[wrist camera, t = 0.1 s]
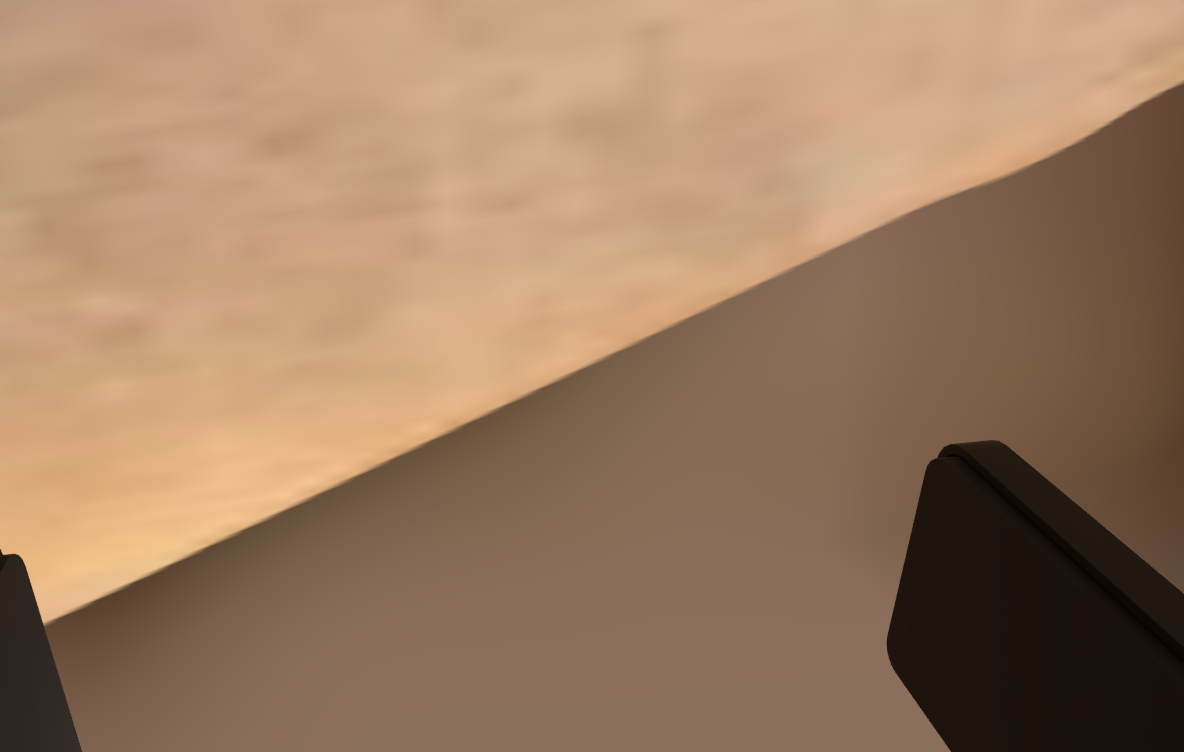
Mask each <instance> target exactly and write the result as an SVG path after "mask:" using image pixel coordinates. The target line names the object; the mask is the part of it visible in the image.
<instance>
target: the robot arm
mask: <svg viewBox="0 0 1184 752" xmlns="http://www.w3.org/2000/svg"><path fill="white" fill-rule="evenodd" d="M887 651H888V656H889V659H890V662H891V665H892V667H893V669H894V670H895V672H896V674H897V675H898V677H899V678H900V679H901V681H902V682H903V684H904V685H905V687H906V688H907V689H908V691H909V692H910V694H911V695H912V697H913V698H914V699H915V701H916V702H917V704H918V705H919V706H920V708H921V709H922V711H923V712H924V714H925V715H926V717H927V718H928V719H929V721H930V722H931V724H932V725H933V727H934V728H935V729H936V731H937V732H938V734H939V735H940V736H941V738H942V739H943V741H944V742H945V744H946V745H947V746H948V748H949V749H950V751H951V752H1184V594H1183V593H1182V592H1181V591H1180V590H1179V589H1177V588H1176V587H1175V586H1174V585H1172V584H1171V583H1170V582H1169V581H1168V580H1167V579H1165V578H1164V577H1163V576H1162V575H1161V574H1159V573H1158V572H1157V571H1156V570H1155V569H1153V568H1152V567H1151V566H1150V565H1149V564H1148V563H1146V562H1145V561H1144V560H1143V559H1142V558H1140V557H1139V556H1138V555H1137V554H1136V553H1134V552H1133V551H1132V550H1131V549H1130V548H1128V547H1127V546H1126V545H1125V544H1124V543H1122V542H1121V541H1120V540H1119V539H1118V538H1116V537H1115V536H1114V535H1113V534H1112V533H1111V532H1109V531H1108V530H1107V529H1106V528H1105V527H1103V526H1102V525H1101V524H1100V523H1098V522H1097V521H1096V520H1095V519H1094V518H1093V517H1091V516H1090V515H1089V514H1088V513H1087V512H1085V511H1084V510H1083V509H1082V508H1081V507H1079V506H1078V505H1077V504H1076V503H1075V502H1073V501H1072V500H1071V499H1070V498H1069V497H1067V496H1066V495H1065V494H1064V493H1063V492H1061V491H1060V490H1059V489H1058V488H1057V487H1055V486H1054V485H1053V484H1052V483H1051V482H1049V481H1048V480H1047V479H1046V478H1045V477H1044V476H1042V475H1041V474H1040V473H1039V472H1038V471H1036V470H1035V469H1034V468H1033V467H1032V466H1030V465H1029V464H1028V463H1027V462H1025V461H1024V460H1023V459H1022V458H1021V457H1020V456H1018V455H1017V454H1016V453H1015V452H1014V451H1012V450H1011V449H1010V448H1009V447H1008V446H1007V445H1005V444H1003V443H1001V442H1000V441H994V440H989V441H979V442H969V443H959V444H950V445H948V446H946V447H944V448H943V449H942V451H941V452H940V453H939V455H938V458H937V459H934V460H932V461H931V462H930V463H929V464H928V466H927V469H926V471H925V476H924V480H923V484H922V489H921V493H920V497H919V502H918V506H917V510H916V515H915V519H914V523H913V528H912V532H911V536H910V540H909V545H908V549H907V553H906V558H905V562H904V566H903V571H902V575H901V579H900V584H899V588H898V593H897V597H896V601H895V606H894V610H893V614H892V618H891V623H890V627H889V632H888V637H887ZM0 752H82V750H81V747H80V743H79V740H78V737H77V733H76V730H75V727H74V724H73V721H72V717H71V714H70V711H69V708H68V704H67V701H66V697H65V694H64V691H63V688H62V684H61V681H60V678H59V675H58V671H57V668H56V665H55V661H54V658H53V655H52V652H51V648H50V645H49V642H48V638H47V635H46V632H45V629H44V625H43V622H42V619H41V615H40V612H39V609H38V606H37V602H36V599H35V596H34V593H33V589H32V586H31V583H30V579H29V576H28V573H27V570H26V567H25V564H24V562H23V560H22V558H21V557H20V556H19V555H17V554H8V555H3V554H2V552H1V549H0Z"/></svg>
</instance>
